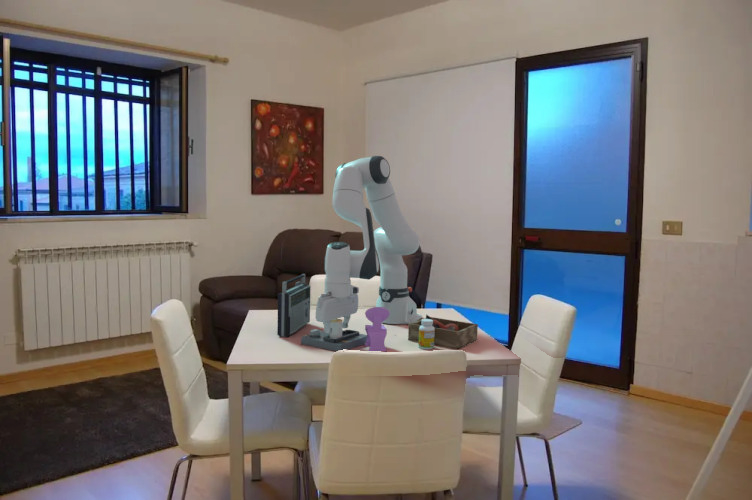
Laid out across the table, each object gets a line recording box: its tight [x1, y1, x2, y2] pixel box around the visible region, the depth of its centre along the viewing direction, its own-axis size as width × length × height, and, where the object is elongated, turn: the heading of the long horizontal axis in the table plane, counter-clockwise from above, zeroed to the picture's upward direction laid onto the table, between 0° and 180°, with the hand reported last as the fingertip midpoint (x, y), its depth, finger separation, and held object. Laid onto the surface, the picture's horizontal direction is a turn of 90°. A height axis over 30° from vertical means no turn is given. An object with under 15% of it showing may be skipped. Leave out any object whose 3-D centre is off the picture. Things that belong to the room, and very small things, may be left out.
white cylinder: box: [330, 318, 344, 339], centre depth 206 cm, size 3×3×7 cm
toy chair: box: [364, 306, 390, 351], centre depth 205 cm, size 8×9×15 cm
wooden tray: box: [407, 316, 479, 350], centre depth 220 cm, size 16×20×6 cm
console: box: [300, 325, 367, 352], centre depth 211 cm, size 17×17×8 cm
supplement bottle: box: [418, 318, 435, 350], centre depth 209 cm, size 5×5×10 cm
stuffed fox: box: [425, 313, 461, 331], centre depth 221 cm, size 8×11×12 cm
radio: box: [276, 273, 311, 338], centre depth 229 cm, size 24×5×20 cm, turn 168°
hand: (336, 330), depth 206 cm, fingers open, 8 cm apart
